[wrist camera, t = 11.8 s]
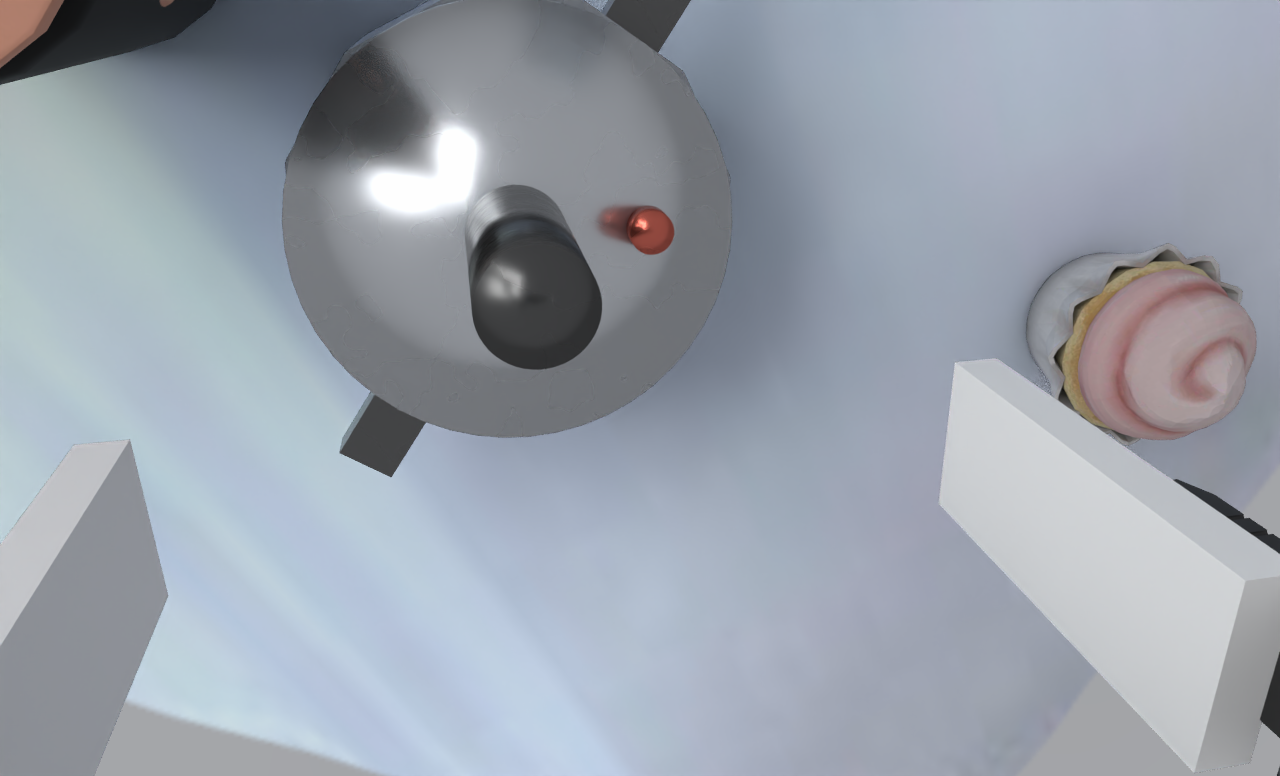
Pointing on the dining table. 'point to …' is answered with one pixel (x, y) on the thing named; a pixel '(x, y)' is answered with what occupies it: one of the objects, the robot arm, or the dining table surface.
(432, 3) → the pot
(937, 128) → the dining table surface
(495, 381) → the lid
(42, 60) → the coffee jar
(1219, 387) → the cupcake
